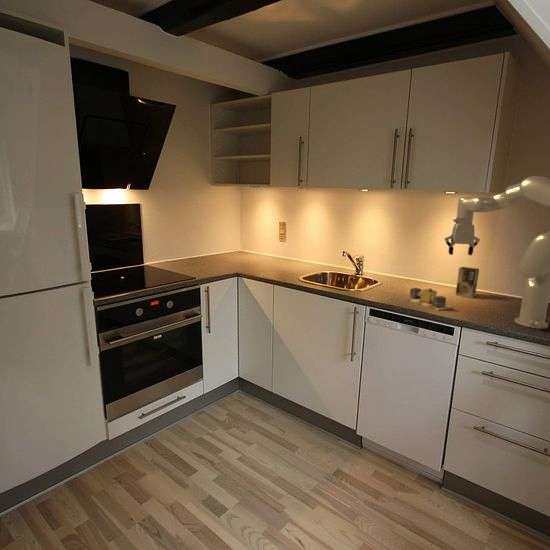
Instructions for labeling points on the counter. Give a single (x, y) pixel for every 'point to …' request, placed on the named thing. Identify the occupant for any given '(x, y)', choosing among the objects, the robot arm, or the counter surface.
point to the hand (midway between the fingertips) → (460, 254)
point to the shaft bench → (436, 305)
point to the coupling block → (428, 295)
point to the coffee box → (467, 282)
